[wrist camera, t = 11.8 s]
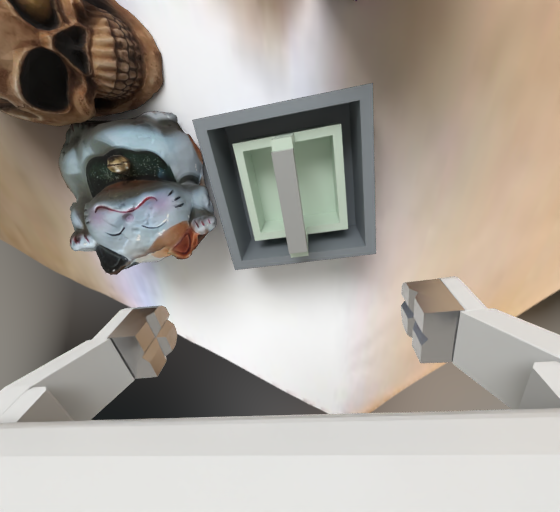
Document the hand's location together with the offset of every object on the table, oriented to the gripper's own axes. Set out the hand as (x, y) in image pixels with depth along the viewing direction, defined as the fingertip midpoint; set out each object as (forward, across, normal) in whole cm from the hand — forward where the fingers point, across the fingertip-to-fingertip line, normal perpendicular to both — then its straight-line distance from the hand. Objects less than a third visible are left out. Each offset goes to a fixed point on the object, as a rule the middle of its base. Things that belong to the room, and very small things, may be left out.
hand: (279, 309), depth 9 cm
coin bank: (+25, +21, -16) cm, 37 cm away
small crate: (+24, 0, 0) cm, 24 cm away
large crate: (+25, 0, 0) cm, 25 cm away
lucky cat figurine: (+25, +16, -2) cm, 30 cm away
